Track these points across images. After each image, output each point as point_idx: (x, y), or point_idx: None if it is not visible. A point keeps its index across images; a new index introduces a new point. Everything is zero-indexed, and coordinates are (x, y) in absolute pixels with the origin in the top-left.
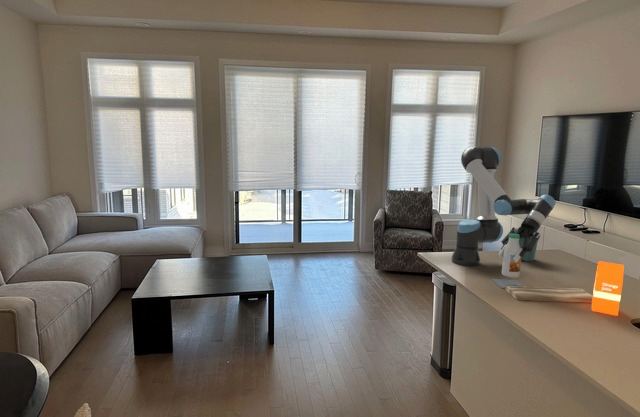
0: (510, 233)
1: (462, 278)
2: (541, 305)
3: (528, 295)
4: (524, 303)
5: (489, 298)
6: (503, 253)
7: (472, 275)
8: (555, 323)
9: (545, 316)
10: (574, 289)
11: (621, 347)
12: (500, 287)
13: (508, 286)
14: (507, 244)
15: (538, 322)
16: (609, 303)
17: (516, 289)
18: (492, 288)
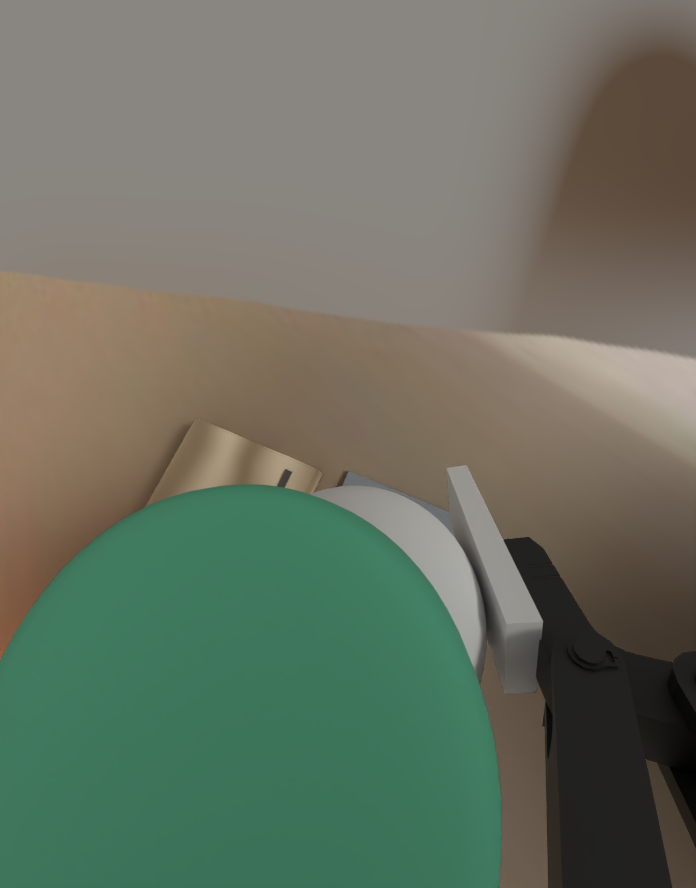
0: (435, 718)
1: (562, 373)
2: (121, 481)
3: (170, 470)
4: (169, 426)
5: (270, 325)
6: (462, 547)
7: (616, 474)
8: (20, 389)
9: (62, 403)
10: None
11: None
12: (359, 475)
13: (302, 475)
14: (386, 517)
15: (55, 342)
16: None
17: (251, 481)
18: (365, 425)
